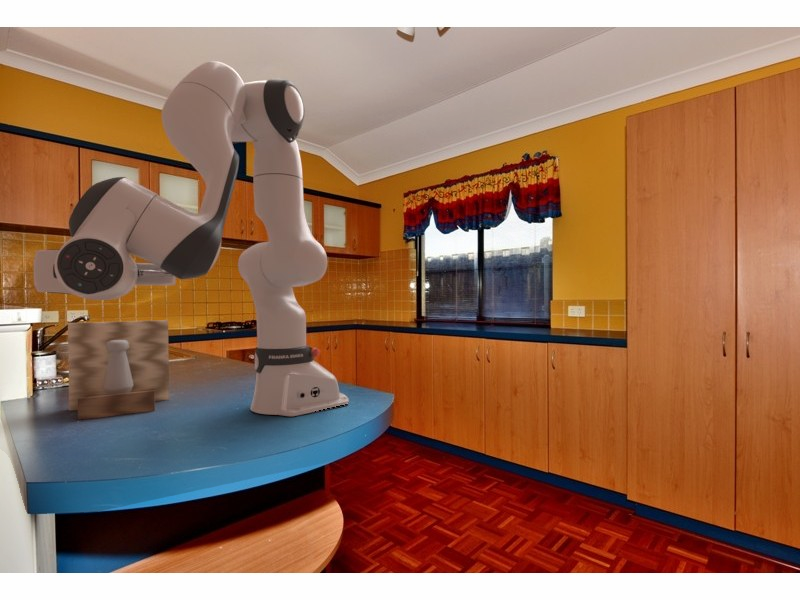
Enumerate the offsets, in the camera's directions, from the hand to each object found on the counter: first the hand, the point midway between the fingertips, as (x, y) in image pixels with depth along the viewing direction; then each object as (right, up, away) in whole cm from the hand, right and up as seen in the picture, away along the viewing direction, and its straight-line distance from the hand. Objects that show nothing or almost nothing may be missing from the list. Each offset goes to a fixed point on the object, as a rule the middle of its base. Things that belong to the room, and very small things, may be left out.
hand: (114, 276), depth 78 cm
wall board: (-14, -30, +23) cm, 40 cm away
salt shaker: (-11, -27, +18) cm, 34 cm away
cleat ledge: (-11, -30, +17) cm, 36 cm away
